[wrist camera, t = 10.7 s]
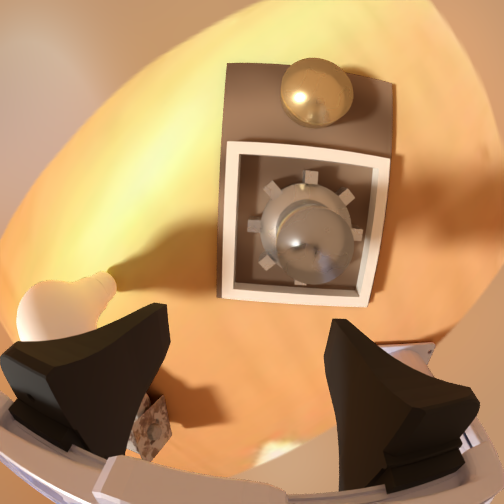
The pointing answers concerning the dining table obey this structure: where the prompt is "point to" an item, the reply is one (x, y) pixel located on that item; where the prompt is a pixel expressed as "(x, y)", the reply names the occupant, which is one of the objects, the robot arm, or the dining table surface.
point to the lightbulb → (64, 307)
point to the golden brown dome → (315, 93)
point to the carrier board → (297, 161)
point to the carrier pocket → (299, 293)
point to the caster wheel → (150, 429)
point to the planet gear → (306, 230)
